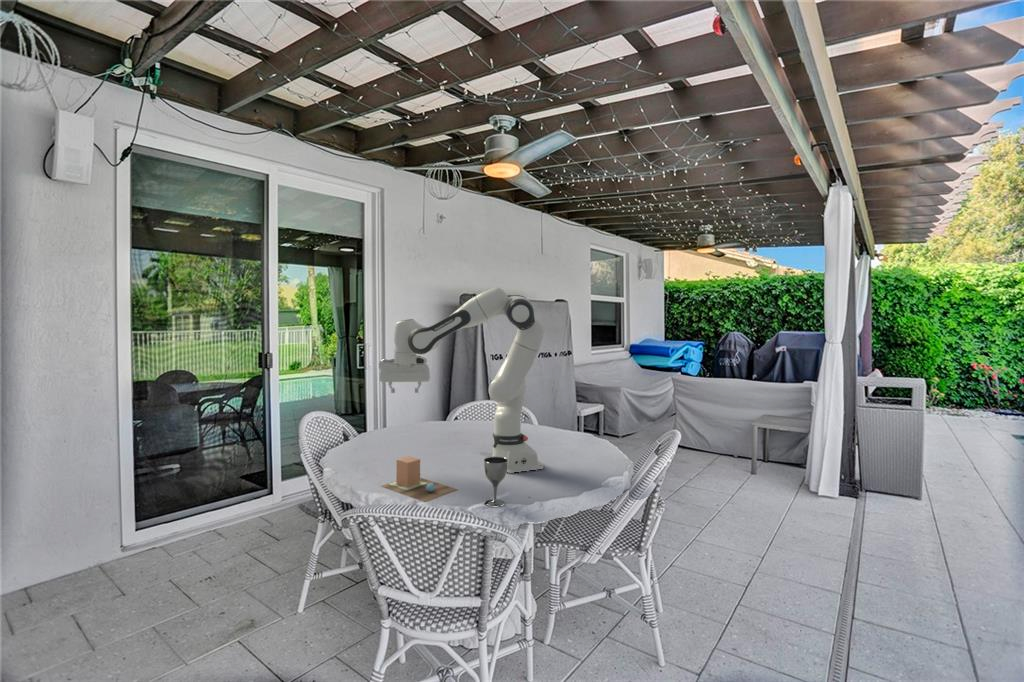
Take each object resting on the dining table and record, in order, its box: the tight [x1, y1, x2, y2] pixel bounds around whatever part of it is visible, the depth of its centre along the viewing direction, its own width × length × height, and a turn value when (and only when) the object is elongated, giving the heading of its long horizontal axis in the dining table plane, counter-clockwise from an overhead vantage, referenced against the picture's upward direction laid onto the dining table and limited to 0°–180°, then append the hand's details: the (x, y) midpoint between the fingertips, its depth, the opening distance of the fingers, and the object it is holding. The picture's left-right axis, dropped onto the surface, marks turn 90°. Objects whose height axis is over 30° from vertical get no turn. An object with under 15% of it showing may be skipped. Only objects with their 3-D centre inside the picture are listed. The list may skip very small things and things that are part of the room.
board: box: [380, 477, 459, 503], centre depth 186 cm, size 24×16×1 cm, turn 52°
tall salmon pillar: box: [395, 455, 421, 487], centre depth 189 cm, size 6×6×9 cm
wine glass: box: [483, 456, 508, 506], centre depth 174 cm, size 8×8×15 cm
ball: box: [426, 483, 435, 492], centre depth 182 cm, size 3×3×3 cm
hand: (404, 392), depth 211 cm, fingers open, 8 cm apart
